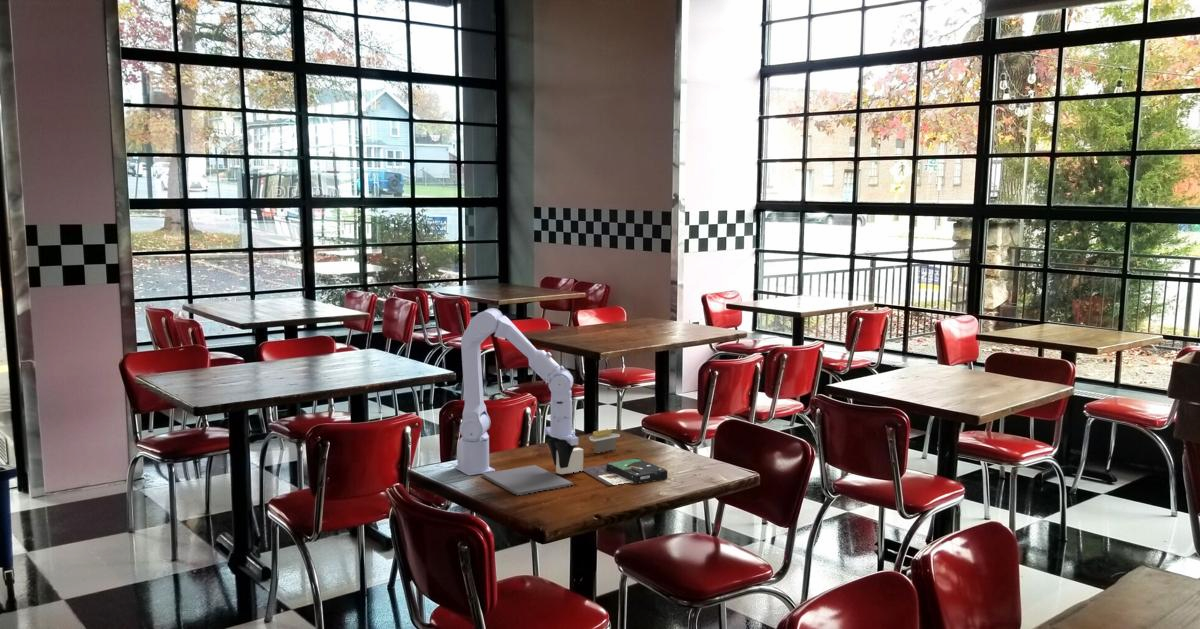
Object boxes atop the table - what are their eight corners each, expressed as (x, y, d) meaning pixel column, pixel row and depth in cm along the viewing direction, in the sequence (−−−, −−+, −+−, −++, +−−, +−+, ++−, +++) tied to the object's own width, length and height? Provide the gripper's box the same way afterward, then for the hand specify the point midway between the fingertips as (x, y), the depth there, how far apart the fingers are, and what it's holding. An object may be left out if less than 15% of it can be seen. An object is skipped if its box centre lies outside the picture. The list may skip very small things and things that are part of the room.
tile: (555, 472, 260) (556, 450, 259) (578, 469, 264) (578, 447, 263) (560, 474, 258) (561, 452, 257) (582, 471, 262) (583, 449, 261)
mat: (482, 476, 257) (482, 473, 257) (535, 467, 265) (535, 464, 265) (517, 495, 240) (517, 492, 240) (573, 485, 249) (573, 482, 249)
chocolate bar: (607, 464, 268) (639, 480, 252) (607, 467, 268) (639, 484, 252) (578, 468, 264) (608, 485, 248) (578, 471, 264) (608, 488, 248)
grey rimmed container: (566, 453, 282) (566, 431, 282) (613, 444, 294) (614, 422, 293) (591, 462, 273) (591, 439, 272) (639, 452, 284) (640, 430, 284)
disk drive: (668, 480, 256) (636, 466, 268) (668, 470, 256) (636, 456, 268) (635, 486, 250) (605, 471, 263) (636, 475, 250) (605, 461, 263)
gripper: (588, 419, 254) (588, 470, 255) (560, 409, 266) (560, 457, 267) (565, 422, 250) (565, 474, 251) (537, 412, 262) (537, 461, 264)
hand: (561, 466), depth 259 cm, fingers closed on tile, 2 cm apart
